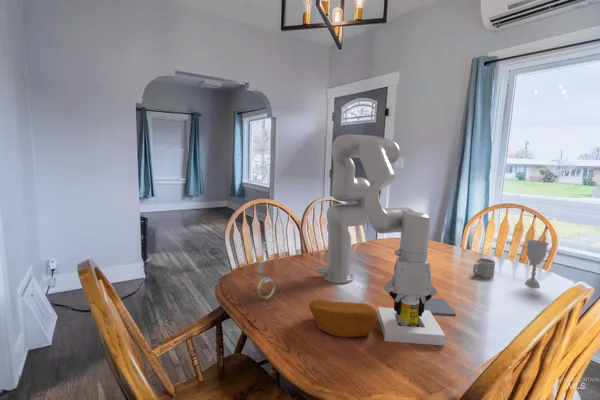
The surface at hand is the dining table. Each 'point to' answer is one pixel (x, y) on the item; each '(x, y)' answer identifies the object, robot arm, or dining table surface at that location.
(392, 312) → the pocket block
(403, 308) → the supplement bottle
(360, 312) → the bread
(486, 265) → the mug
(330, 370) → the dining table surface
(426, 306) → the slate mat
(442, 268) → the dining table surface
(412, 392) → the dining table surface
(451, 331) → the dining table surface
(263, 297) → the ring
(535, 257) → the chalice
